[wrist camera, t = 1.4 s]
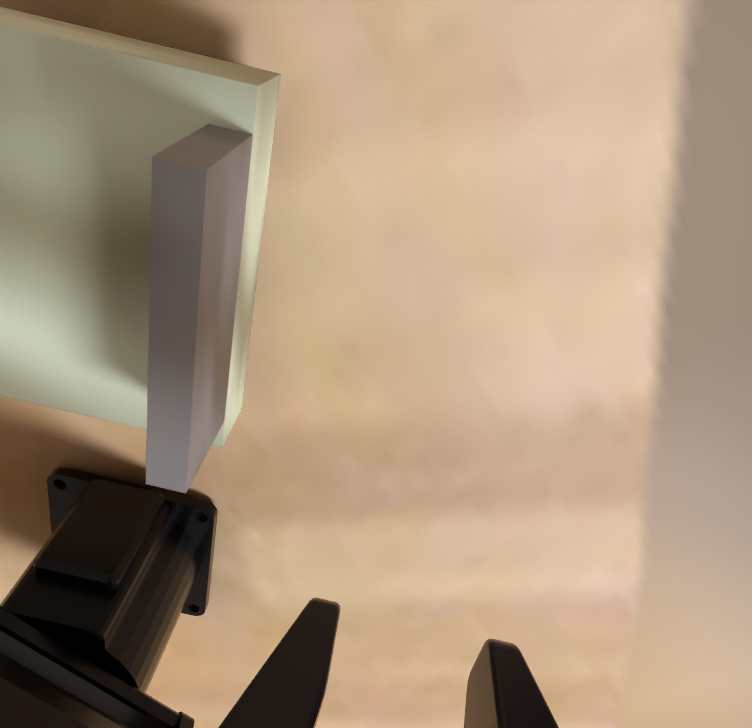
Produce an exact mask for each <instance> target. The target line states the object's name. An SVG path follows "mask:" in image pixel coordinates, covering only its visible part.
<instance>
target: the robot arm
mask: <svg viewBox="0 0 752 728" xmlns="http://www.w3.org/2000/svg"><path fill="white" fill-rule="evenodd" d="M47 485H48V496H49V507H50V518H51V530H52V535H51V536H50V537H49V539H48V540H47V541H46V543H45V544H44V546H43V547H42V548H41V550H40V551H39V552H38V554H37V555H36V556H35V558H34V559H33V561H32V562H31V563H30V565H29V566H28V567H27V569H26V570H25V571H24V573H23V574H22V575H21V577H20V578H19V580H18V581H17V582H16V584H15V585H14V586H13V588H12V589H11V590H10V592H9V593H8V595H7V596H6V597H5V599H4V600H3V601H2V603H1V604H0V728H193V726H194V719H193V718H191V717H189V716H188V715H186V714H184V713H183V712H179V713H177V712H175V711H174V710H172V709H170V708H169V707H167V706H165V705H164V704H162V703H160V702H159V701H157V700H155V699H154V698H152V697H150V696H149V695H147V694H145V693H146V690H147V688H148V686H149V684H150V681H151V679H152V677H153V675H154V672H155V670H156V668H157V666H158V663H159V661H160V659H161V656H162V654H163V652H164V650H165V647H166V645H167V643H168V641H169V638H170V636H171V634H172V631H173V629H174V627H175V625H176V622H177V620H178V618H179V616H180V613H184V614H189V615H193V616H200V615H202V614H204V612H205V610H206V607H207V605H208V601H209V591H210V581H211V571H212V562H213V552H214V542H215V533H216V523H217V509H216V507H215V506H214V505H213V504H212V503H210V502H208V501H205V500H200V499H196V498H192V497H187V496H183V495H179V494H175V493H170V492H166V491H162V490H158V489H153V488H149V487H145V486H140V485H136V484H132V483H128V482H123V481H119V480H115V479H111V478H106V477H102V476H98V475H93V474H89V473H85V472H81V471H76V470H72V469H68V468H61V467H60V468H56V469H55V470H54V471H53V472H52V473H51V475H50V476H49V477H48V479H47ZM202 513H204V514H205V515H204V514H202ZM339 614H340V605H339V604H338V603H336V602H333V601H328V600H324V599H320V598H313V599H312V600H310V601H309V603H308V604H307V605H306V607H305V608H304V609H303V611H302V612H301V614H300V615H299V616H298V618H297V619H296V621H295V622H294V623H293V625H292V626H291V627H290V629H289V630H288V632H287V633H286V634H285V636H284V637H283V639H282V640H281V641H280V643H279V644H278V646H277V647H276V648H275V650H274V651H273V653H272V654H271V655H270V657H269V658H268V659H267V661H266V662H265V664H264V665H263V666H262V668H261V669H260V671H259V672H258V673H257V675H256V676H255V678H254V679H253V680H252V682H251V683H250V685H249V686H248V687H247V689H246V690H245V691H244V693H243V694H242V696H241V697H240V698H239V700H238V701H237V703H236V704H235V705H234V707H233V708H232V710H231V711H230V712H229V714H228V715H227V717H226V718H225V719H224V721H223V722H222V723H221V725H220V726H219V728H315V726H316V723H317V720H318V716H319V713H320V709H321V706H322V702H323V699H324V695H325V691H326V686H327V682H328V677H329V671H330V665H331V660H332V654H333V648H334V643H335V637H336V631H337V626H338V620H339ZM464 728H559V727H558V725H557V723H556V721H555V719H554V717H553V715H552V713H551V711H550V709H549V707H548V705H547V703H546V701H545V699H544V697H543V695H542V693H541V691H540V689H539V687H538V685H537V683H536V681H535V679H534V677H533V675H532V673H531V671H530V669H529V667H528V665H527V663H526V661H525V659H524V657H523V655H522V653H521V652H520V650H519V648H518V647H517V646H516V645H514V644H512V643H508V642H504V641H500V640H495V639H488V640H487V641H486V642H485V643H484V645H483V647H482V649H481V651H480V653H479V655H478V657H477V659H476V661H475V663H474V666H473V668H472V670H471V672H470V675H469V679H468V685H467V695H466V707H465V720H464Z"/></svg>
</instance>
